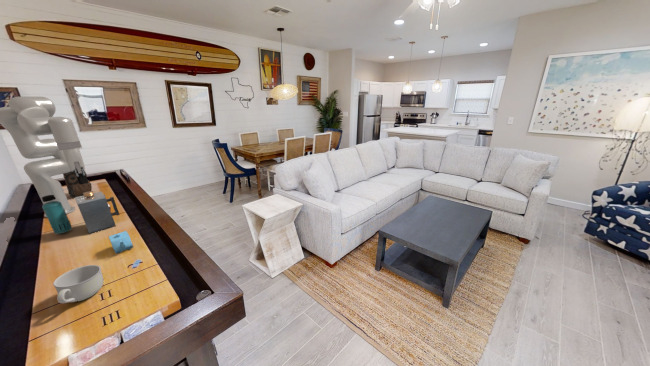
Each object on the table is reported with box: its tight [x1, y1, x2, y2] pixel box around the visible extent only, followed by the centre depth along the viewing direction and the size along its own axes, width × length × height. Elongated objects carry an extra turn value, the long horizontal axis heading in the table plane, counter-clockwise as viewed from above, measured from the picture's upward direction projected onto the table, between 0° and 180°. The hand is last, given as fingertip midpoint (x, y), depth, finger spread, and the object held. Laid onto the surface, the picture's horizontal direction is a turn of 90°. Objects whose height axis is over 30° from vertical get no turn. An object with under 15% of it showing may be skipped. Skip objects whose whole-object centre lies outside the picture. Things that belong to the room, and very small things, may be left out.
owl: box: [62, 169, 93, 199], centre depth 162 cm, size 13×13×20 cm
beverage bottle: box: [41, 195, 73, 235], centre depth 114 cm, size 6×7×20 cm
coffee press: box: [74, 191, 120, 235], centre depth 120 cm, size 10×13×17 cm
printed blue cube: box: [108, 230, 134, 255], centre depth 101 cm, size 12×6×8 cm, turn 48°
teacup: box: [52, 264, 104, 304], centre depth 76 cm, size 14×11×8 cm
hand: (83, 183), depth 114 cm, fingers closed
